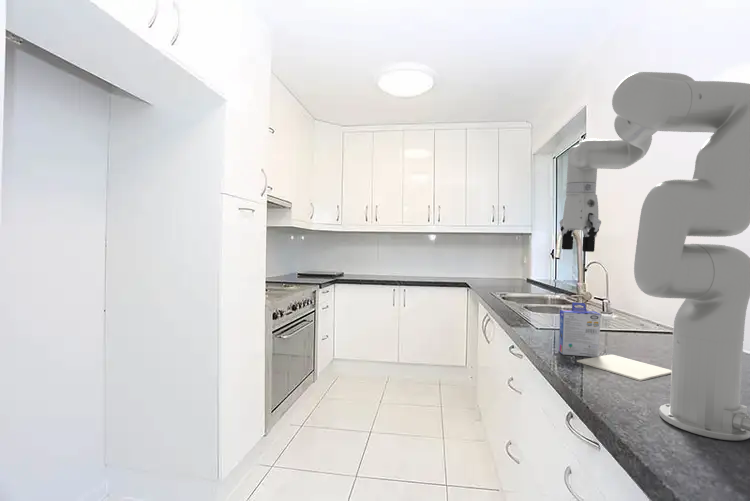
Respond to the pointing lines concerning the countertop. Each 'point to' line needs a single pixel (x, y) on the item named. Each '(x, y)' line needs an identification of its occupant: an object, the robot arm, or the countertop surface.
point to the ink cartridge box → (579, 331)
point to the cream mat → (626, 367)
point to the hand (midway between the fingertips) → (577, 250)
